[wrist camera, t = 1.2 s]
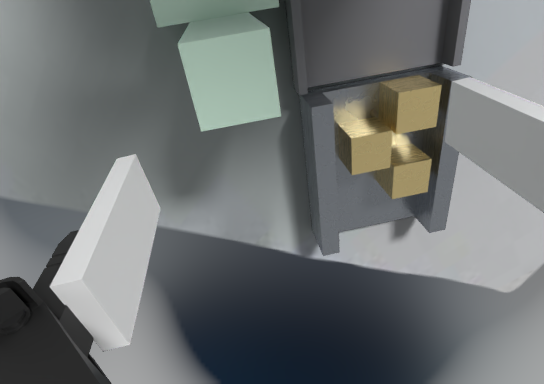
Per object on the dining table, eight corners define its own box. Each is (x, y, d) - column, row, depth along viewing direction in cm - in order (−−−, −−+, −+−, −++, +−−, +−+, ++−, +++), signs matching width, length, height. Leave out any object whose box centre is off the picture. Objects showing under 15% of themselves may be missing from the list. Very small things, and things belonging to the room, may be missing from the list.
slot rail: (298, 92, 34) (311, 107, 30) (440, 65, 35) (472, 76, 31) (312, 229, 44) (323, 255, 40) (423, 206, 45) (445, 229, 40)
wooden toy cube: (337, 123, 35) (351, 138, 32) (374, 116, 35) (392, 130, 32) (339, 157, 37) (351, 175, 34) (374, 150, 37) (390, 167, 34)
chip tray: (278, -60, 27) (284, -63, 25) (465, -90, 28) (485, -96, 26) (294, 88, 34) (299, 95, 32) (445, 60, 35) (460, 64, 33)
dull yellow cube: (379, 82, 33) (398, 93, 30) (418, 74, 33) (441, 84, 30) (378, 120, 35) (396, 134, 32) (414, 113, 36) (436, 126, 32)
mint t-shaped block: (158, -3, 28) (110, 9, 15) (266, -21, 29) (316, -25, 15) (179, 73, 31) (156, 140, 18) (276, 56, 32) (323, 108, 18)
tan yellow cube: (377, 150, 37) (394, 166, 34) (411, 143, 37) (431, 159, 34) (376, 181, 39) (391, 199, 36) (409, 174, 40) (427, 191, 36)
